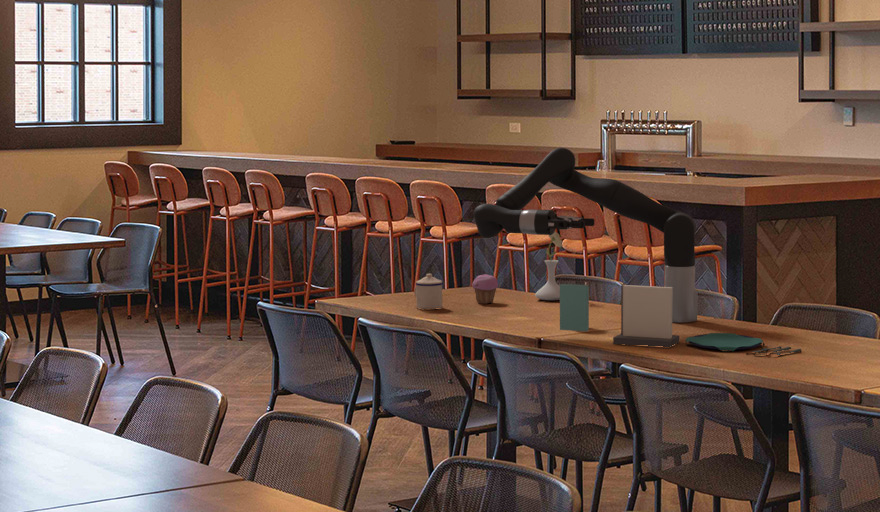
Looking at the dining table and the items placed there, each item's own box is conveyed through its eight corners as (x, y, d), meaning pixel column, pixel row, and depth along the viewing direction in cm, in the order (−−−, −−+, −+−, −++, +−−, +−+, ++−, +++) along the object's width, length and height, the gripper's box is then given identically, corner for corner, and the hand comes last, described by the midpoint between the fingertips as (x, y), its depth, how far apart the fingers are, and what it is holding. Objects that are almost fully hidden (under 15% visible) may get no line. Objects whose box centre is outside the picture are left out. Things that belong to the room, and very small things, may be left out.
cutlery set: (720, 337, 355) (720, 329, 355) (807, 354, 331) (808, 345, 331) (672, 346, 343) (672, 338, 343) (759, 364, 319) (759, 355, 319)
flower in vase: (569, 302, 427) (569, 229, 424) (536, 302, 427) (535, 230, 425) (566, 297, 440) (565, 226, 437) (533, 297, 440) (533, 227, 438)
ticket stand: (679, 342, 347) (679, 285, 345) (669, 348, 338) (670, 290, 336) (624, 338, 353) (624, 283, 352) (613, 344, 345) (613, 287, 343)
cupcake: (482, 300, 433) (482, 272, 432) (503, 302, 428) (503, 273, 427) (467, 303, 426) (467, 274, 425) (489, 305, 421) (488, 276, 420)
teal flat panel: (588, 330, 354) (588, 285, 352) (586, 331, 352) (586, 285, 350) (562, 328, 357) (562, 283, 356) (559, 329, 355) (559, 284, 354)
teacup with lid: (448, 308, 416) (448, 273, 415) (427, 311, 410) (427, 276, 409) (425, 304, 425) (425, 270, 424) (405, 307, 419) (404, 273, 418)
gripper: (528, 211, 364) (581, 212, 357) (546, 208, 376) (597, 209, 369) (528, 236, 364) (581, 238, 357) (546, 232, 377) (597, 234, 370)
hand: (589, 223), depth 363 cm, fingers open, 8 cm apart
